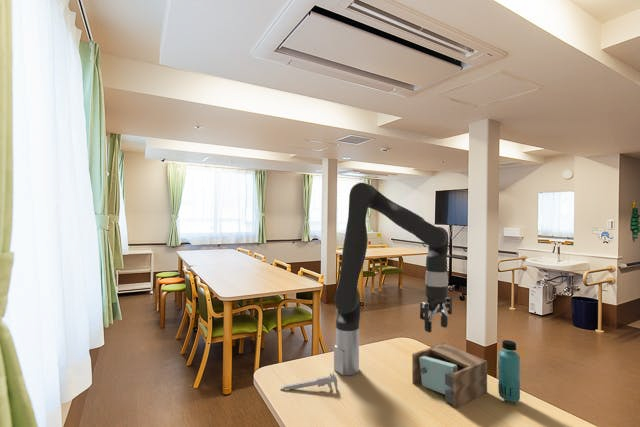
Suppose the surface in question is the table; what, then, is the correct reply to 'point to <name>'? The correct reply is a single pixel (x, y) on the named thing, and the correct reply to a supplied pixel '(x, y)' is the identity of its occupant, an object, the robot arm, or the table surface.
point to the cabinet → (456, 373)
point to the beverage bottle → (509, 372)
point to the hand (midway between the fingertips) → (436, 329)
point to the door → (436, 373)
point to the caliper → (315, 383)
